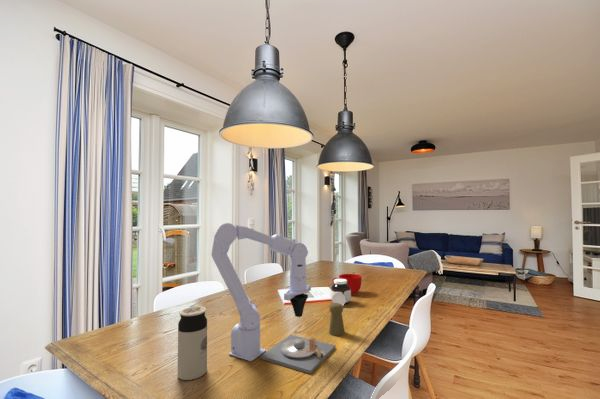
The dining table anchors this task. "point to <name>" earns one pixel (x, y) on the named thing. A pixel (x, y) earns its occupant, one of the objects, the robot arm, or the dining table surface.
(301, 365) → the turntable base
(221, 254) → the robot arm
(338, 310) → the cork
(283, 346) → the flange plate
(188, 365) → the travel mug
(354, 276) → the ceramic cup
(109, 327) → the dining table surface
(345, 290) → the spread jar
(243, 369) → the dining table surface
